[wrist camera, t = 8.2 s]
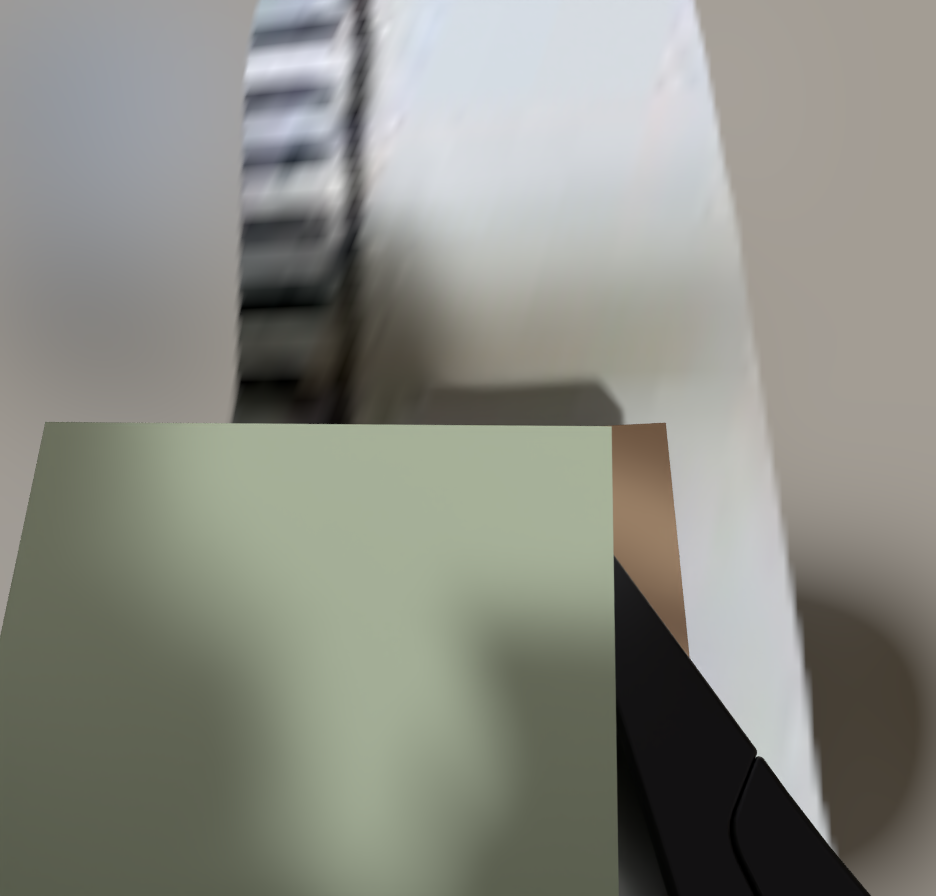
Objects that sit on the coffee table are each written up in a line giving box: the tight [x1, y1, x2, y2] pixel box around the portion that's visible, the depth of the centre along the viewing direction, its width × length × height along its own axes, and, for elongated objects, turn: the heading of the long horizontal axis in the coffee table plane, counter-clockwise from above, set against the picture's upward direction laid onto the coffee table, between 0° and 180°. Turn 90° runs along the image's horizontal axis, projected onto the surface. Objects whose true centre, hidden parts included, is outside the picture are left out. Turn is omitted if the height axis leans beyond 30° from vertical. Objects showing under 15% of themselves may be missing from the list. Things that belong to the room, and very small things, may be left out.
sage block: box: [0, 422, 619, 896], centre depth 9 cm, size 4×4×11 cm
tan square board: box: [612, 423, 689, 657], centre depth 19 cm, size 12×12×3 cm
